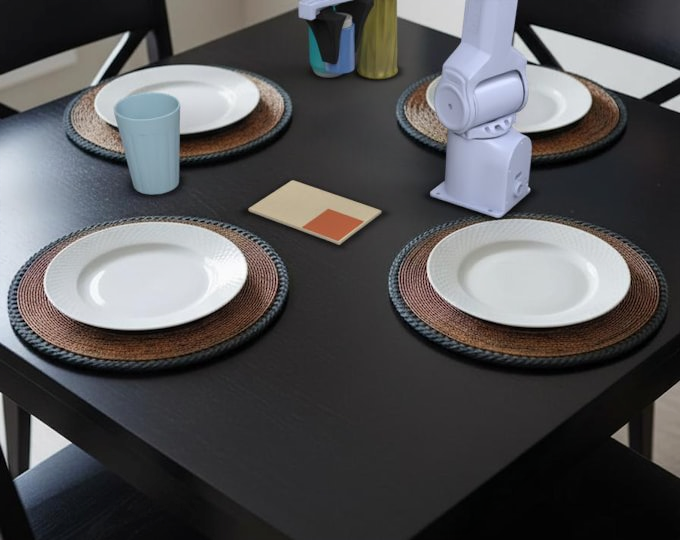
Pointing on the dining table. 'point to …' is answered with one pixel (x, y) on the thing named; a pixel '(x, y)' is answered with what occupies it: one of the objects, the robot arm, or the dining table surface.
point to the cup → (150, 140)
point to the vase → (379, 42)
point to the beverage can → (317, 58)
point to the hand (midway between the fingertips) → (339, 56)
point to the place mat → (315, 211)
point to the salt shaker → (345, 49)
